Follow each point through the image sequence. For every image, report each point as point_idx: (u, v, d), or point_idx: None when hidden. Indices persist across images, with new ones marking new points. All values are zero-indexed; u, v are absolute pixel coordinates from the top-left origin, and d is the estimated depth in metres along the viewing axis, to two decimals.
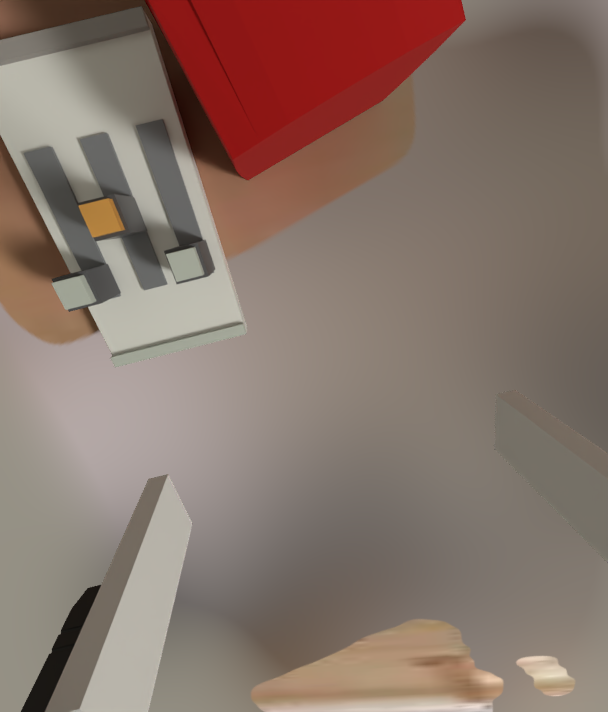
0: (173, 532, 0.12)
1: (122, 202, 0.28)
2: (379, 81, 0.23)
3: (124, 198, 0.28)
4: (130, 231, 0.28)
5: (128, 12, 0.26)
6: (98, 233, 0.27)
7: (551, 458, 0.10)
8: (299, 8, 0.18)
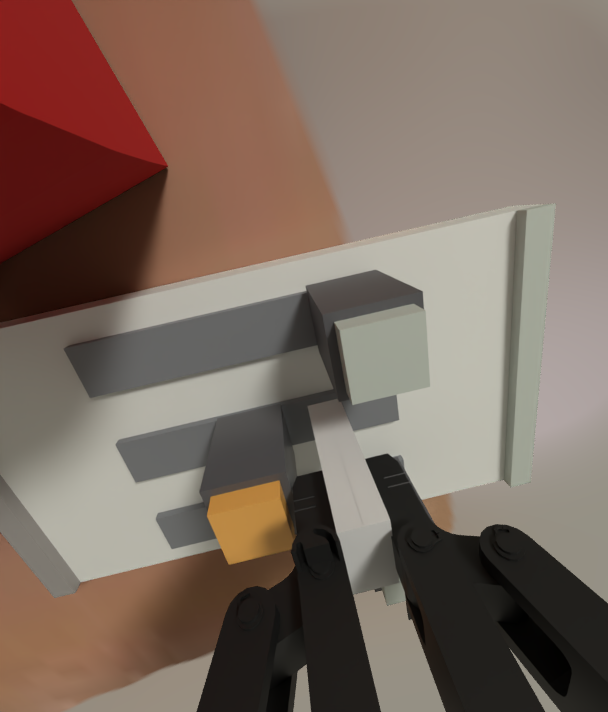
0: None
1: (220, 466, 0.12)
2: None
3: (214, 454, 0.13)
4: (282, 468, 0.11)
5: None
6: (287, 538, 0.11)
7: None
8: None
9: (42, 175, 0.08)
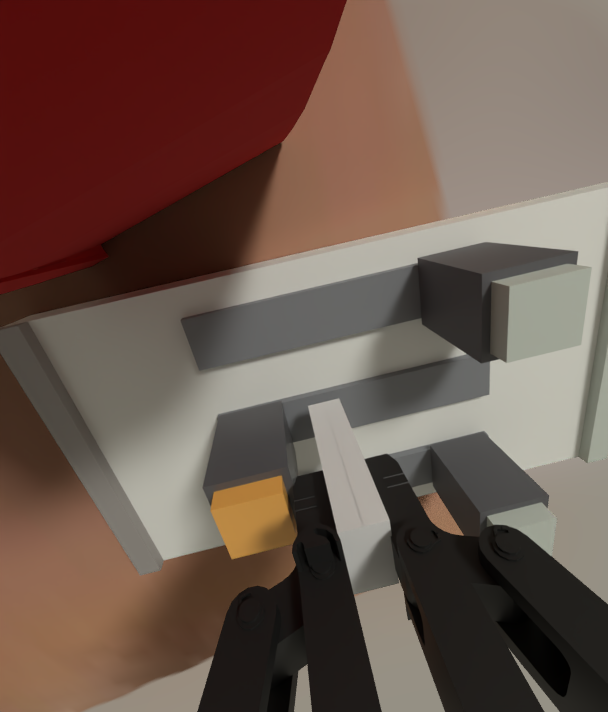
0: None
1: (223, 462, 0.12)
2: None
3: (216, 450, 0.13)
4: (285, 463, 0.12)
5: (7, 357, 0.13)
6: (290, 532, 0.11)
7: None
8: None
9: (253, 129, 0.08)
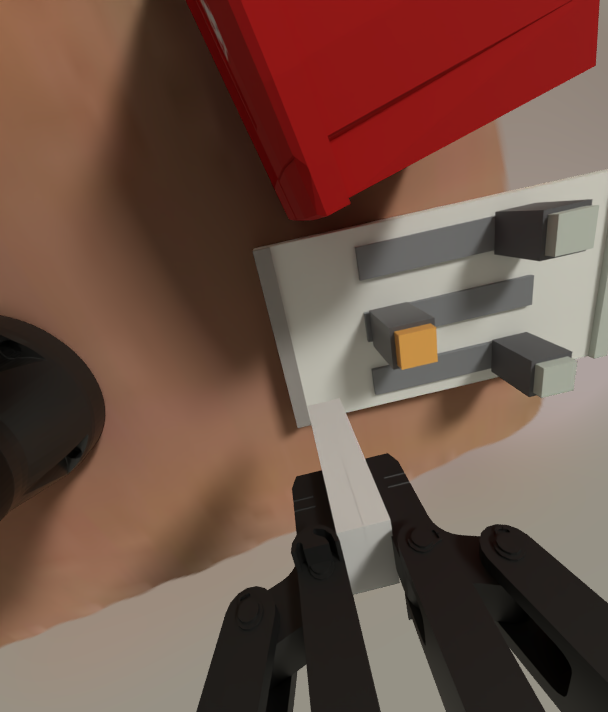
0: None
1: (392, 321, 0.22)
2: None
3: (383, 319, 0.23)
4: (431, 317, 0.21)
5: (259, 267, 0.23)
6: (434, 354, 0.21)
7: None
8: None
9: None
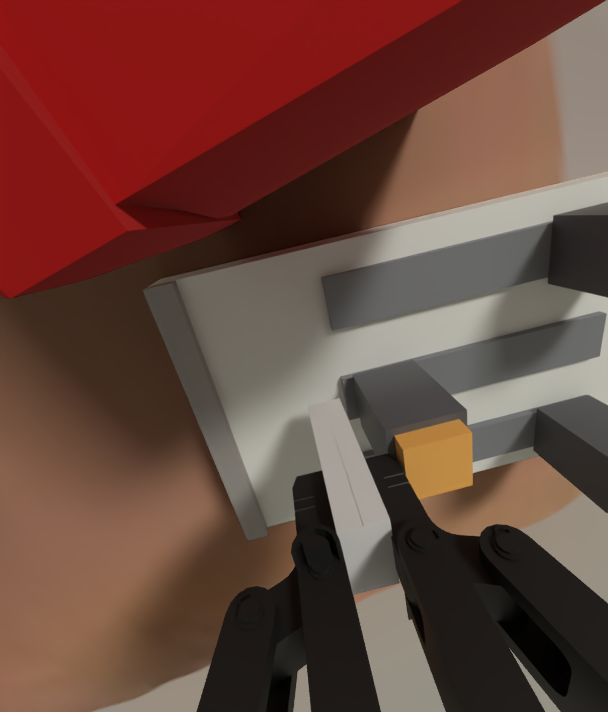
0: None
1: (390, 410, 0.13)
2: None
3: (374, 401, 0.13)
4: (461, 408, 0.12)
5: (157, 315, 0.14)
6: (467, 474, 0.12)
7: None
8: None
9: (500, 61, 0.08)
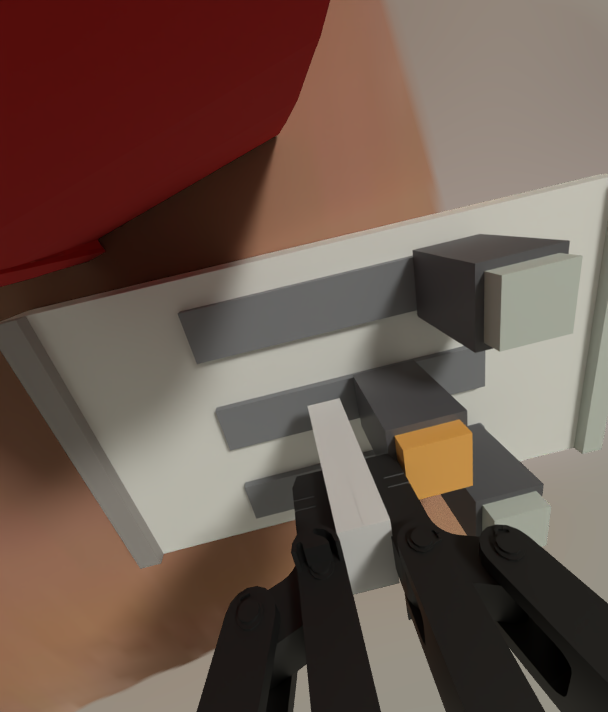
0: None
1: (390, 410, 0.13)
2: None
3: (374, 402, 0.13)
4: (461, 408, 0.12)
5: (5, 352, 0.14)
6: (468, 474, 0.12)
7: None
8: None
9: (246, 120, 0.08)
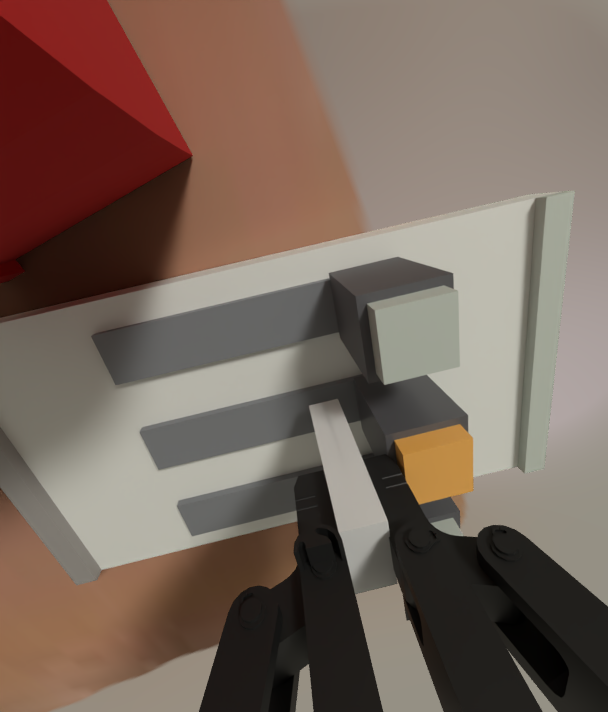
0: None
1: (390, 414, 0.13)
2: None
3: (375, 405, 0.13)
4: (462, 413, 0.12)
5: None
6: (468, 480, 0.12)
7: None
8: None
9: (91, 157, 0.08)
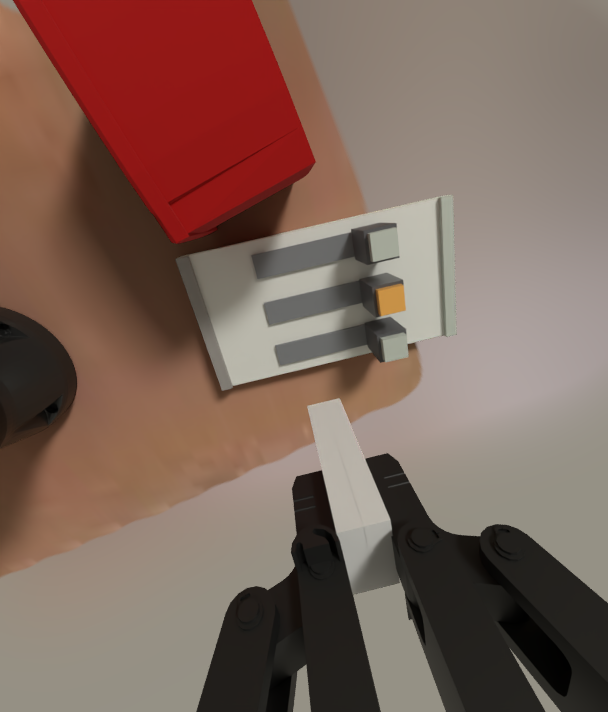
0: None
1: (374, 283, 0.32)
2: None
3: (368, 283, 0.32)
4: (401, 279, 0.31)
5: (180, 270, 0.33)
6: (403, 304, 0.31)
7: None
8: (186, 63, 0.17)
9: (288, 185, 0.27)
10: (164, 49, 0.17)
